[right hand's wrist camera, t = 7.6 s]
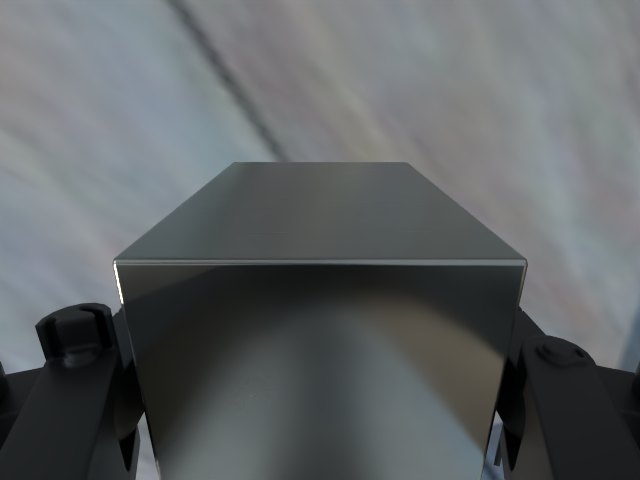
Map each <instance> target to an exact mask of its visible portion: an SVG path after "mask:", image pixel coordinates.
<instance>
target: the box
mask: <svg viewBox="0 0 640 480" xmlns="http://www.w3.org/2000/svg"><path fill="white" fill-rule="evenodd" d="M527 266H528V264H527V260H526V258H524V257H523V256H522V255H521V254H520V253H518V252H517V251H516V250H515V249H513V248H512V247H511V246H510V245H508V244H507V243H506V242H505V241H503V240H502V239H501V238H500V237H499V236H497V235H496V234H495V233H494V232H492V231H491V230H490V229H489V228H487V227H486V226H485V225H484V224H482V223H481V222H480V221H479V220H478V219H476V218H475V217H474V216H473V215H471V214H470V213H469V212H468V211H466V210H465V209H464V208H463V207H461V206H460V205H459V204H458V203H457V202H455V201H454V200H453V199H452V198H450V197H449V196H448V195H447V194H445V193H444V192H443V191H442V190H440V189H439V188H438V187H437V186H436V185H434V184H433V183H432V182H431V181H429V180H428V179H427V178H426V177H424V176H423V175H422V174H421V173H419V172H418V171H417V170H416V169H415V168H413V167H412V166H411V165H410V164H408V163H406V162H234V163H232V164H231V165H230V166H228V167H227V168H226V169H225V170H223V171H222V172H221V173H220V174H218V175H217V176H216V177H215V178H214V179H212V180H211V181H210V182H209V183H207V184H206V185H205V186H204V187H202V188H201V189H200V190H199V191H197V192H196V193H195V194H194V195H192V196H191V197H190V198H189V199H187V200H186V201H185V202H184V203H182V204H181V205H180V206H179V207H178V208H176V209H175V210H174V211H173V212H171V213H170V214H169V215H168V216H166V217H165V218H164V219H163V220H161V221H160V222H159V223H158V224H156V225H155V226H154V227H153V228H151V229H150V230H149V231H148V232H146V233H145V234H144V235H143V236H142V237H140V238H139V239H138V240H137V241H135V242H134V243H133V244H132V245H130V246H129V247H128V248H127V249H125V250H124V251H123V252H122V253H120V254H119V255H118V256H117V257H115V258H114V260H113V268H114V273H115V278H116V282H117V287H118V291H119V296H120V301H121V305H122V310H123V315H124V319H125V324H126V328H127V333H128V338H129V342H130V347H131V351H132V356H133V361H134V365H135V370H136V374H137V379H138V384H139V388H140V393H141V398H142V402H143V407H144V411H145V416H146V421H147V425H148V430H149V434H150V439H151V444H152V448H153V453H154V457H155V462H156V467H157V471H158V476H159V480H481V476H482V472H483V467H484V463H485V458H486V454H487V449H488V444H489V440H490V435H491V431H492V426H493V422H494V417H495V412H496V408H497V403H498V399H499V394H500V390H501V385H502V380H503V376H504V371H505V367H506V362H507V357H508V353H509V348H510V344H511V339H512V335H513V330H514V325H515V321H516V316H517V312H518V307H519V303H520V298H521V293H522V289H523V284H524V280H525V275H526V271H527Z"/></svg>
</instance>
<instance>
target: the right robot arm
mask: <svg viewBox="0 0 640 480" xmlns="http://www.w3.org/2000/svg"><path fill="white" fill-rule="evenodd" d="M35 328H36V331H37V334H38V337H39V340H40V343H41V346H42V349H43V352H44V356H45V359H46V362H45V364H44V366H43V367H42V368H38V369H32V370H27V371H22V372H17V373H12V374H7V375H5V372H4V369H3V367H2V364H1V362H0V480H135V479H136V471H137V463H138V455H139V447H140V435H139V430H138V425H137V424H138V422H139V420H140V418H141V417H142V415H143V413H144V407H143V402H142V398H141V393H140V388H139V384H138V379H137V374H136V370H135V365H134V361H133V356H132V351H131V347H130V342H129V338H128V333H127V328H126V324H125V319H124V315H123V310H122V307H121V309H120V310H119V313H116V314H115V315H114V316H113V317H112V313H111V309H110V308H109V307H108V306H106V305H105V304H99V303H83V304H78V305H73V306H69V307H66V308H63V309H60V310H58V311H55V312H53V313H51V314H50V315H48V316H46V317H44V318H43V319H42V320H41V321H40V322H39V323H38V324H37V325H36V326H35ZM496 410H497V412H498V414H499V416H500V418H501V419H502V421H503V425H502V430H501V434H500V438H499V443H498V447H497V451H496V456H495V461H494V465H496V466H500V462H501V458H502V462H503V470H504V478H505V480H640V362H639V365H638V368H637V370H636V373H632V372H627V371H622V370H617V369H611V368H606V367H601V366H597V365H596V364H595V362H594V360H593V359H592V358H591V356H590V355H589V354H588V353H587V352H586V351H585V350H583V349H582V348H580V347H579V346H577V345H575V344H573V343H571V342H569V341H566V340H564V339H561V338H557V337H553V336H548V335H545V334H544V332H543V331H542V330H541V329H540V328H539V327H538V326H537V325H536V324H535V323H534V322H533V321H532V319H531V318H530V317H529V316H528V315H527V314H526V313H525V312H524V311H522V309H521V308H520V306H519V307H518V312H517V316H516V321H515V325H514V330H513V335H512V339H511V344H510V348H509V353H508V357H507V362H506V367H505V371H504V376H503V380H502V385H501V390H500V394H499V399H498V403H497V408H496Z"/></svg>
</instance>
